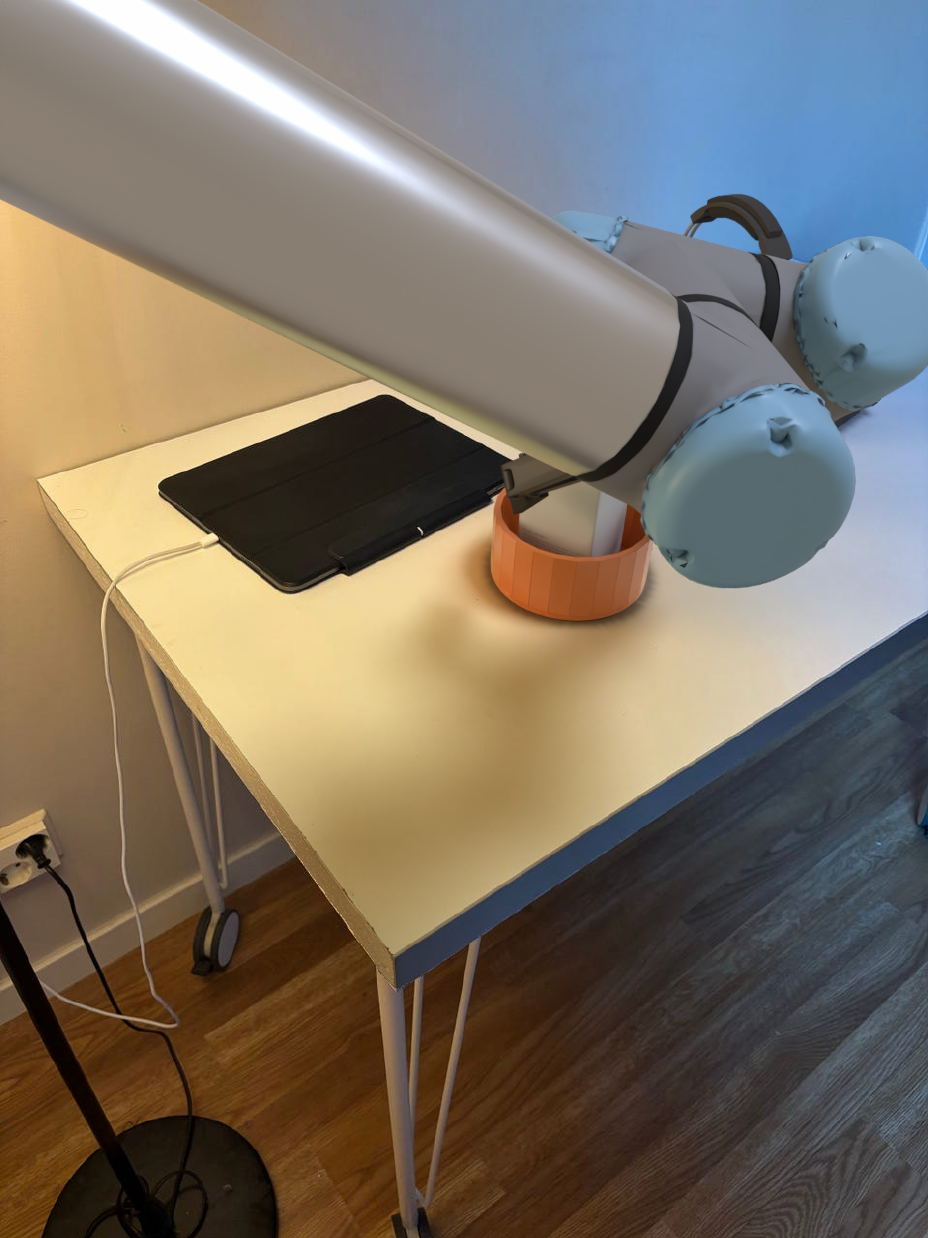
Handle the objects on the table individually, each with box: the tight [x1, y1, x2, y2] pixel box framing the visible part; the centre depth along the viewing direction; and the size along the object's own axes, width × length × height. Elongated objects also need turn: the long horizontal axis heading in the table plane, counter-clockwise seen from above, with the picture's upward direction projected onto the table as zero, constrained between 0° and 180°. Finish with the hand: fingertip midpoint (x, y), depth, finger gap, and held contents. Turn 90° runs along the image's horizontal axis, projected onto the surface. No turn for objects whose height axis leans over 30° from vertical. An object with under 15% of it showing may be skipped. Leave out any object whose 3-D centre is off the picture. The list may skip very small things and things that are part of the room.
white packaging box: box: [518, 481, 627, 557], centre depth 83 cm, size 7×7×13 cm
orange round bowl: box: [490, 487, 654, 622], centre depth 86 cm, size 14×14×6 cm
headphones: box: [683, 193, 794, 261], centre depth 115 cm, size 22×6×20 cm, turn 25°
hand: (590, 485), depth 79 cm, fingers open, 13 cm apart
